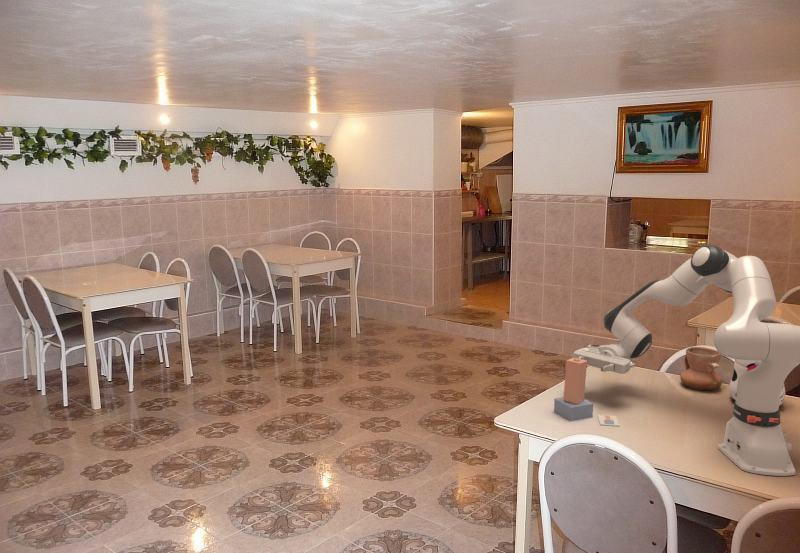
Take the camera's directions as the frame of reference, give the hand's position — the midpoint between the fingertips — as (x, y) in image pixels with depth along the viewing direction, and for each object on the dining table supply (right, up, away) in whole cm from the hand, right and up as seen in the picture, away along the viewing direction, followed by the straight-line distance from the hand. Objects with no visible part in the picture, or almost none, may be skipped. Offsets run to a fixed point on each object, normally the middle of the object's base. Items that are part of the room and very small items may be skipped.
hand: (590, 366), depth 226 cm
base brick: (-7, -16, -4) cm, 18 cm away
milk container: (+60, -14, +5) cm, 62 cm away
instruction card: (+3, -17, -10) cm, 20 cm away
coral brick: (-7, -11, -5) cm, 14 cm away
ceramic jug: (+48, -11, +22) cm, 54 cm away
